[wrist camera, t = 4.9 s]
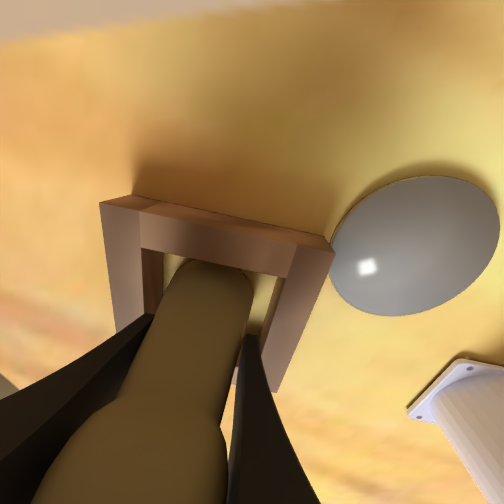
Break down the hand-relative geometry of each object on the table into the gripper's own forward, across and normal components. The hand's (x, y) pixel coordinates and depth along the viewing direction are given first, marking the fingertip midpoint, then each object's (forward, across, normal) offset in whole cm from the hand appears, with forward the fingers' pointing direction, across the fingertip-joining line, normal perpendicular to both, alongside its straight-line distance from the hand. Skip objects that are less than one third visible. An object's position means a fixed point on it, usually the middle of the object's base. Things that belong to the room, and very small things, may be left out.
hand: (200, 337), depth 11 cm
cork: (+4, 0, 0) cm, 4 cm away
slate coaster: (+4, -11, -6) cm, 13 cm away
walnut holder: (+4, 0, 0) cm, 4 cm away
